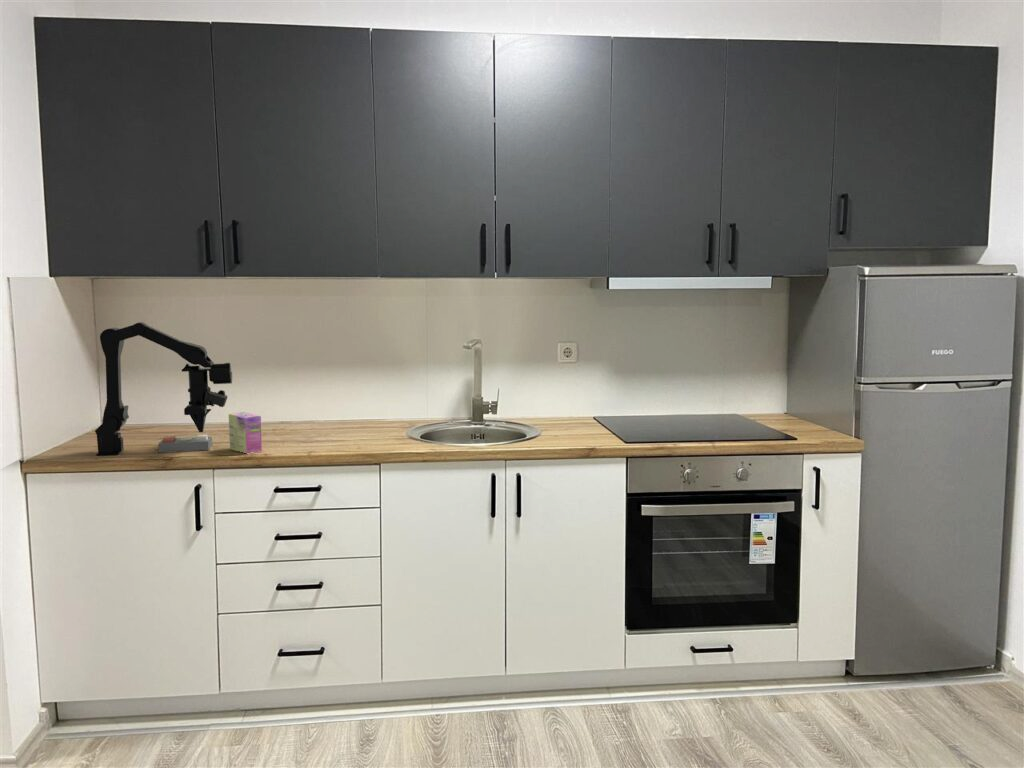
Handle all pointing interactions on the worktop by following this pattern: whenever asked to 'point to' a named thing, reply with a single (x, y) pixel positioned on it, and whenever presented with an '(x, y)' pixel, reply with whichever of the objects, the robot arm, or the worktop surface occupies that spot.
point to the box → (245, 432)
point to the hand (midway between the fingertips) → (201, 432)
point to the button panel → (185, 445)
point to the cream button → (201, 437)
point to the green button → (185, 439)
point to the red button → (169, 439)
